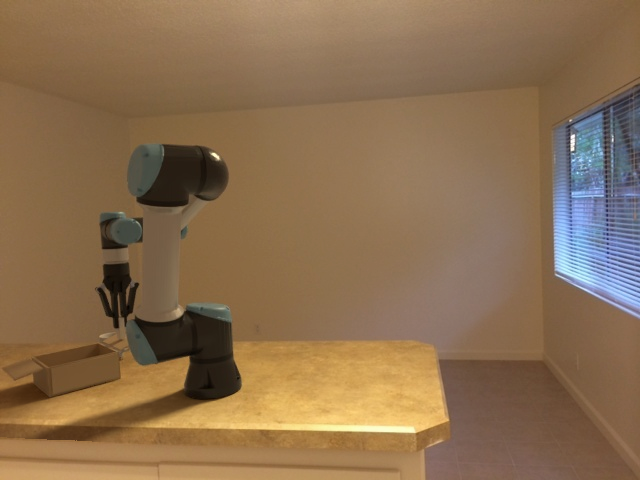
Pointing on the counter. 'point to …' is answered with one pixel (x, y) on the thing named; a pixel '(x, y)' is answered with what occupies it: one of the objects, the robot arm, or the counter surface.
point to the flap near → (22, 369)
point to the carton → (76, 368)
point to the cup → (106, 336)
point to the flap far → (117, 342)
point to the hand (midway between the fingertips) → (121, 338)
